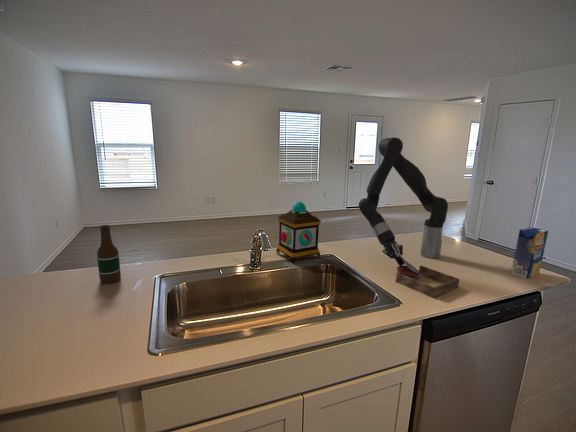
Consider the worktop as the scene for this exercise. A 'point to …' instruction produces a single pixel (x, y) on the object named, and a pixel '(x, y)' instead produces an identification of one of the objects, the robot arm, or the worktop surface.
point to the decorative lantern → (298, 233)
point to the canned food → (408, 270)
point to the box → (428, 290)
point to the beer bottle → (108, 258)
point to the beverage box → (529, 252)
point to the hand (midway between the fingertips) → (402, 265)
